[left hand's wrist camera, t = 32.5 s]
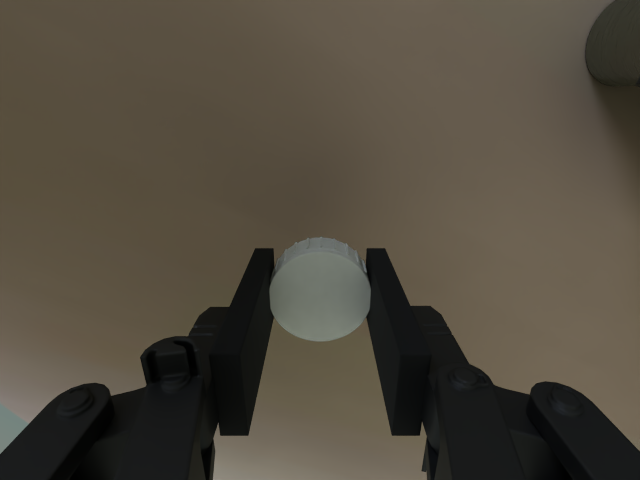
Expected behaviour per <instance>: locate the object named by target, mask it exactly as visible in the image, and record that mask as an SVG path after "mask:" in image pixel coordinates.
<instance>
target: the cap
mask: <svg viewBox="0 0 640 480" xmlns="http://www.w3.org/2000/svg"><path fill="white" fill-rule="evenodd" d="M270 282H271V284H270V288H269V293H270V308H271V311H272V314H273V316H274V317H275V319H276V320H277V322H278V323H279V324H280V325H281V326H282V327H283V328H284V329H285V330H286V331H288V332H289V333H291V334H293V335H294V336H297V337H299V338H302V339H305V340H310V341H331V340H335V339H338V338H341V337H344V336H346V335H348V334H349V333H351V332H352V331H354V330H355V329H356V328H357V327H359V326H360V324H361V323H362V322H363V321H364V319H365V318H366V316H367V314H368V312H369V309H370V296H371V287H370V282H369V278H368V275H367V270H366V266H365V262H364V260H362V259H361V258H360V256H359V255H358V253H357V251H356V250H355V251H354V250H353V249H352V248H351V247H349V246H348V245H347V243H345V244H344V243H342V242H340V241H337V240H336V239H335V238H333V239H330V238H322V236H320V238H310V239H309V238H307V239H306V240H303V241H300V242H298V243H297V242H295V244H294V245H293V246H291V247H290V248H288V249H285V251H284V253H283V254H282V256H281V257H280V258H278V259H277V262H276V265H275V269H273V273H272V277H271V280H270Z"/></svg>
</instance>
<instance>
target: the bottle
mask: <svg viewBox="0 0 640 480" xmlns="http://www.w3.org/2000/svg"><path fill="white" fill-rule="evenodd" d="M586 62H587V66H588V69H589V71H590V73H591V74H592V75H593V77H594V78H595V79H596V80H598V81H599V82H601V83H603V84H605V85H608V86H635V85H636V83H637V81H638V78H639V76H640V0H615V1H614V2H612V3H611V4H610V5H609V6H608V7H607V8H606V9H605V10H604V11H603V12H602V13H601V15H600V16H599V17H598V19H597V20H596V22H595V23H594V25H593V27H592V29H591V31H590V34H589V37H588V40H587V45H586Z"/></svg>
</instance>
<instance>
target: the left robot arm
mask: <svg viewBox="0 0 640 480" xmlns="http://www.w3.org/2000/svg"><path fill="white" fill-rule="evenodd" d="M273 269H275V268H274V250H273V248H255V250H254V253H253V255H252V257H251V259H250V262H249V264H248V266H247V268H246V271H245V273H244V275H243V278H242V280H241V282H240V284H239V287H238V289H237V291H236V293H235V296H234V298H233V300H232V302H231V305H230V307H210V308H208V309H207V310H206V311H205V312H203V313H202V314H201V315H199V317H198V319H197V321H196V322H195V324H194V327H193V328H192V329H191V331H190V333H189V336H187V337H186V336H174V337H170V338H166V339H163V340H160V341H158V342H156V343H154V344H152V345H151V346H150V347H148V348H147V349H146V350H145V351H144V352H143V354H142V355H141V357H140V359H141V363H142V367H143V371H144V376H145V380H146V384H147V385H146V387H144V388H141V389H137V390H134V391H130V392H126V393H122V394H117V395H113V396H111V394H110V391H109V389H108V388H107V387H106V386H105V385H103V384H98V383H89V384H83V385H80V386H76V387H73V388H71V389H69V390H67V391H65V392H63V393H62V394H60V395H58V396H57V397H56V398H55V399H53V400H52V401H51V402H50V403H49V404H48V405H47V406H46V407H45V408H44V409H43V410H42V411H41V412H40V413H39V414H38V415H37V416H36V417H35V418H34V419H33V420H32V421H31V422H30V424H29V425H28V426H27V427H26V428H25V429H24V430H23V431H22V432H21V433H20V434H19V435H18V436H17V437H16V438H15V439H14V440H13V441H12V442H11V443H10V444H9V446H8V447H7V448H6V449H5V450H4V451H3V452H2V453H1V454H0V480H213V471H214V459H215V446H214V440H213V437H214V434H215V431H216V428H217V425H218V423H219V429H220V436H248V435H249V430H250V425H251V421H252V416H253V411H254V407H255V402H256V397H257V393H258V388H259V383H260V379H261V374H262V369H263V365H264V360H265V356H266V351H267V346H268V342H269V337H270V332H271V328H272V323H273V318H274V316H273V314H272V311H271V308H270V293H269V288H270V284H271V282H270V280H271V277H272V273H273ZM366 270H367V275H368V278H369V282H370V287H371V296H370V309H369V312H368V314H367V316H366V317H367V322H368V327H369V331H370V336H371V341H372V345H373V350H374V354H375V359H376V364H377V368H378V373H379V378H380V382H381V387H382V392H383V396H384V401H385V406H386V410H387V415H388V420H389V424H390V429H391V434H392V436H420V431H421V424H422V422H423V425H424V428H425V432H426V435H427V440H426V446H425V452H424V459H423V465H422V471H423V472H426V470H427V480H640V451H639V450H638V449H637V448H636V447H635V446H634V445H633V444H632V443H631V442H630V441H629V440H628V439H627V438H626V437H625V436H624V435H623V434H622V433H621V431H620V430H619V429H618V428H617V427H616V426H615V425H614V424H613V423H612V422H611V421H610V420H609V419H608V418H607V417H606V416H605V415H604V414H603V413H602V412H601V411H600V410H599V409H598V408H597V406H596V405H595V404H594V403H593V402H592V401H590V400H589V399H588V398H587V397H585V396H584V395H583V394H582V393H580V392H578V391H576V390H574V389H573V388H571V387H568V386H565V385H562V384H559V383H555V382H546V381H545V382H541V383H536V384H535V385H534V386H533V387H532V389H531V392H530V395H529V394H525V393H520V392H516V391H512V390H508V389H504V388H501V387H498V386H495V385H494V384H493V383H492V381H491V379H490V378H489V376H488V375H486V374H485V373H484V372H483V371H482V370H480V369H479V368H477V367H475V366H473V365H470V364H469V363H468V361H467V359H466V357H465V356H464V354H463V352H462V350H461V349H460V347H459V345H458V343H457V342H456V340H455V338H454V336H453V335H452V333H451V331H450V329H449V328H448V327H447V324H446V322H445V321H444V319H443V317H442V315H441V314H440V313H438V312H437V311H436V310H435V309H433V308H432V307H431V306H410V304H409V302H408V300H407V297H406V295H405V293H404V291H403V288H402V286H401V284H400V281H399V279H398V277H397V275H396V272H395V270H394V268H393V266H392V263H391V261H390V259H389V257H388V254H387V252H386V250H385V248H367V254H366Z"/></svg>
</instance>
